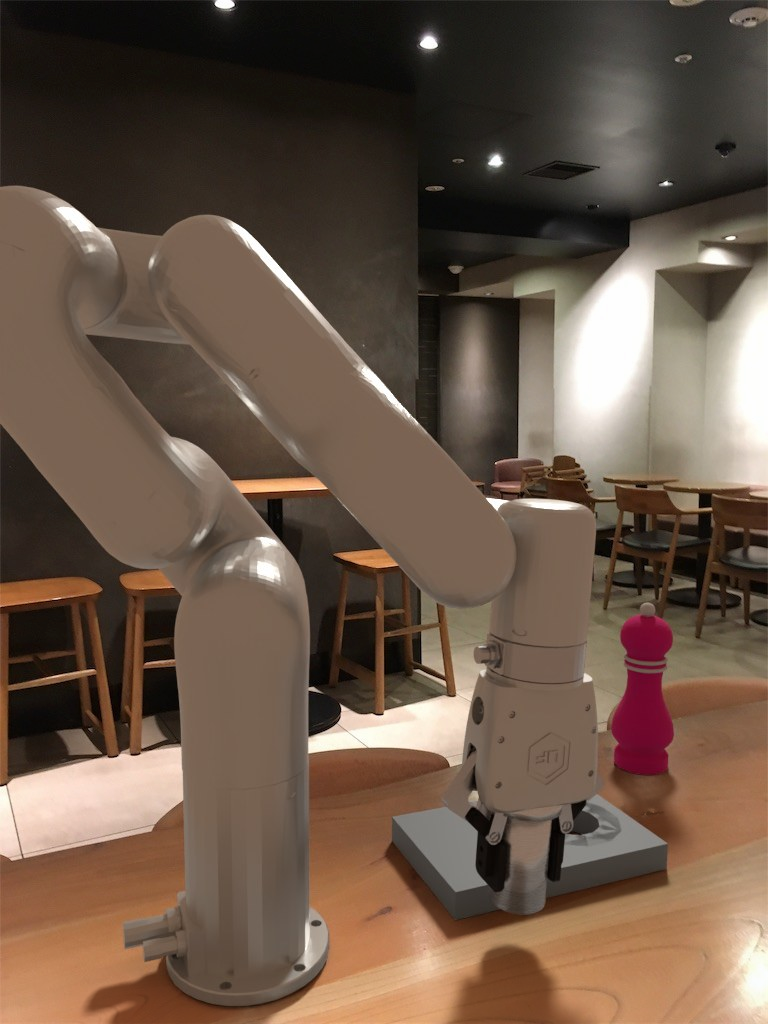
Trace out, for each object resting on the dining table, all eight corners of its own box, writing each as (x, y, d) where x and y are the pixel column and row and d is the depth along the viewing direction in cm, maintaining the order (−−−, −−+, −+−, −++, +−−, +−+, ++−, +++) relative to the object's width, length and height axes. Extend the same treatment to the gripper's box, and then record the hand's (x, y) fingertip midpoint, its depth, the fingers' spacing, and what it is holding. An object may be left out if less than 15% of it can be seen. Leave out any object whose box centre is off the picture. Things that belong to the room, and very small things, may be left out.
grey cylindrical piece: (502, 925, 64) (511, 813, 63) (466, 883, 69) (474, 780, 68) (569, 912, 66) (578, 804, 65) (529, 872, 72) (537, 772, 71)
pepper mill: (676, 780, 97) (684, 611, 95) (611, 774, 99) (618, 608, 96) (668, 755, 104) (675, 597, 102) (608, 750, 106) (614, 594, 103)
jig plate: (455, 920, 70) (455, 892, 70) (391, 840, 83) (392, 816, 83) (666, 868, 78) (667, 843, 78) (579, 803, 91) (579, 781, 91)
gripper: (460, 679, 59) (444, 923, 61) (654, 665, 65) (633, 886, 67) (417, 649, 66) (403, 869, 68) (596, 639, 72) (579, 840, 74)
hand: (518, 875), depth 67 cm, fingers closed on grey cylindrical piece, 4 cm apart
